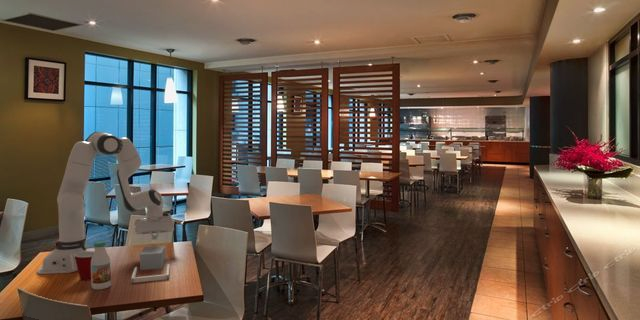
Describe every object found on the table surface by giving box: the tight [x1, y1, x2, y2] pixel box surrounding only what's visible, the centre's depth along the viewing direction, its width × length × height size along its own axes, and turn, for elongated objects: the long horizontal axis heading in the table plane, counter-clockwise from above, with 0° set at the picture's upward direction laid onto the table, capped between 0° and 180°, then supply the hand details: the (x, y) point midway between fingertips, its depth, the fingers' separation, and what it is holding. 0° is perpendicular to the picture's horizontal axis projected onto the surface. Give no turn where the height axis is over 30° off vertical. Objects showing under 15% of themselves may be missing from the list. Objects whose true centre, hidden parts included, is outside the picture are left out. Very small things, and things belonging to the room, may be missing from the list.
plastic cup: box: [74, 250, 94, 281], centre depth 207 cm, size 11×11×12 cm
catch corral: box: [130, 263, 170, 284], centre depth 212 cm, size 16×17×2 cm
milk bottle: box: [90, 240, 112, 291], centre depth 196 cm, size 8×8×20 cm
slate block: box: [139, 245, 166, 271], centre depth 227 cm, size 10×14×8 cm
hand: (154, 239), depth 243 cm, fingers closed
